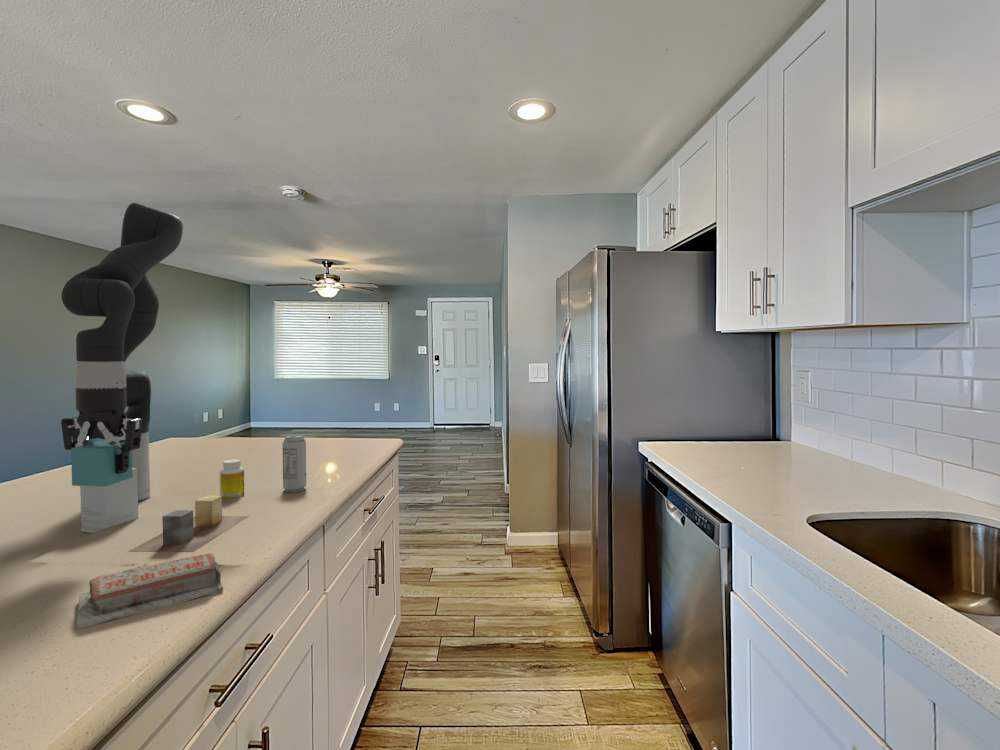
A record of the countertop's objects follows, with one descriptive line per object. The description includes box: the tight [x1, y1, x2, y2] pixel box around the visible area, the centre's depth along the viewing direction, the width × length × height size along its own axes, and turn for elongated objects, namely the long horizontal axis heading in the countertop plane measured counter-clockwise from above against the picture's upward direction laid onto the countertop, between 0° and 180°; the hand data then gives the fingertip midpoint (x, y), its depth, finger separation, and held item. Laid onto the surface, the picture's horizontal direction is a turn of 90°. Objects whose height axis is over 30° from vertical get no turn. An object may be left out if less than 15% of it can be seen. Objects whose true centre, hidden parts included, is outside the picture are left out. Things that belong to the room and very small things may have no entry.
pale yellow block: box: [194, 495, 223, 527], centre depth 106 cm, size 4×4×6 cm
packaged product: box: [76, 553, 224, 630], centre depth 77 cm, size 18×5×10 cm
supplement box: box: [79, 468, 139, 534], centre depth 107 cm, size 7×7×13 cm
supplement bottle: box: [219, 458, 245, 499], centre depth 128 cm, size 6×6×10 cm
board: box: [129, 509, 249, 553], centre depth 101 cm, size 12×20×7 cm, turn 0°
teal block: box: [70, 441, 132, 487], centre depth 94 cm, size 6×6×7 cm
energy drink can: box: [282, 434, 307, 493], centre depth 138 cm, size 6×6×15 cm
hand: (103, 472), depth 94 cm, fingers closed on teal block, 6 cm apart
